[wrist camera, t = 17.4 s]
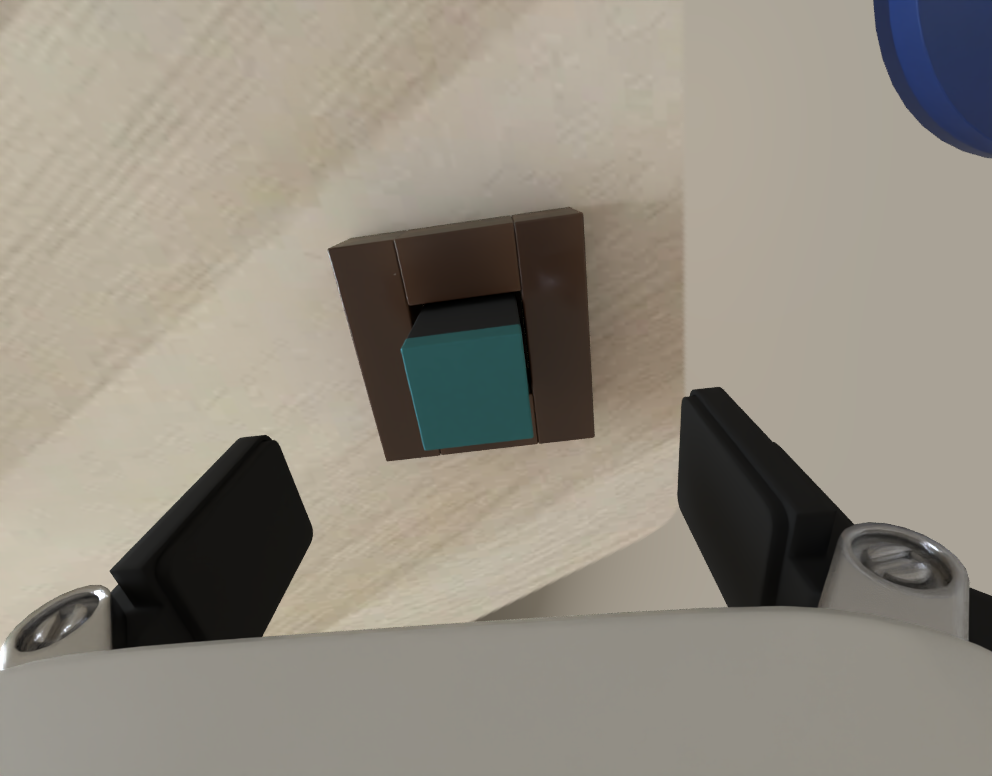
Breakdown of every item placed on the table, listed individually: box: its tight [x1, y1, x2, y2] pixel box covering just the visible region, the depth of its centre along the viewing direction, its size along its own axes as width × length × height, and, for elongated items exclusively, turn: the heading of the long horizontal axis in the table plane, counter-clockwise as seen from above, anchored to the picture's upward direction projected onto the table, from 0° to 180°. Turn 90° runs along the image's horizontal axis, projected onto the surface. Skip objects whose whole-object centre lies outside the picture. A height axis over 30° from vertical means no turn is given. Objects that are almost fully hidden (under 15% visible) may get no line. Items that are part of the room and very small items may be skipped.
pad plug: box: [401, 292, 534, 451], centre depth 18 cm, size 4×4×7 cm
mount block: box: [328, 207, 595, 461], centre depth 20 cm, size 9×9×3 cm
